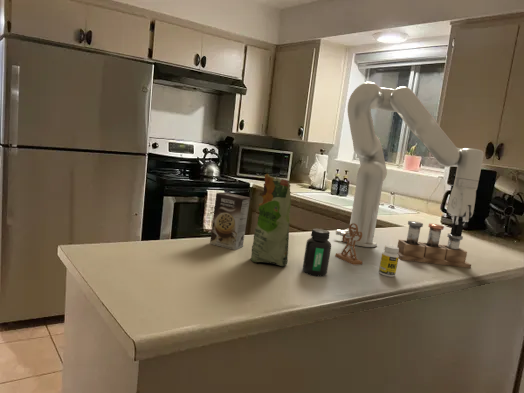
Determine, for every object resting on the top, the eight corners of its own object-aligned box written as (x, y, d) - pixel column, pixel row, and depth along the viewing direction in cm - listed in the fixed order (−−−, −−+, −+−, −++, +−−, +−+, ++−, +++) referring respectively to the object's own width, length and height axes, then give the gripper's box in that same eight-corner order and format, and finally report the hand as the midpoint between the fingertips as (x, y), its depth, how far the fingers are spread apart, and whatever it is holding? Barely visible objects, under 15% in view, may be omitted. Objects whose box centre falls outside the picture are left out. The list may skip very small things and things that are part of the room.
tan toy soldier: (334, 256, 143) (340, 220, 141) (343, 255, 145) (349, 220, 143) (352, 264, 136) (359, 226, 134) (362, 264, 138) (368, 227, 136)
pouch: (280, 271, 119) (294, 179, 115) (240, 261, 122) (252, 172, 119) (292, 262, 129) (304, 178, 126) (254, 253, 133) (265, 171, 129)
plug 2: (447, 258, 154) (451, 236, 153) (441, 254, 159) (445, 232, 158) (461, 259, 154) (465, 237, 153) (454, 255, 159) (458, 234, 158)
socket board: (400, 259, 150) (403, 244, 150) (390, 251, 160) (393, 237, 160) (470, 268, 152) (473, 253, 151) (456, 259, 162) (459, 246, 161)
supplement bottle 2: (386, 277, 127) (391, 249, 126) (375, 271, 131) (380, 244, 130) (398, 276, 129) (403, 249, 128) (387, 271, 133) (392, 244, 132)
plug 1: (407, 245, 152) (411, 223, 151) (402, 242, 157) (406, 220, 156) (421, 247, 153) (425, 224, 152) (415, 243, 158) (419, 222, 157)
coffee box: (208, 244, 136) (215, 193, 134) (218, 240, 142) (224, 191, 140) (235, 250, 133) (242, 198, 131) (244, 246, 139) (250, 196, 137)
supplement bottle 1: (320, 278, 117) (327, 234, 115) (297, 271, 121) (304, 229, 119) (330, 273, 123) (337, 232, 121) (308, 267, 126) (315, 226, 125)
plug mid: (428, 248, 153) (432, 225, 152) (422, 244, 158) (426, 222, 157) (442, 249, 153) (446, 227, 152) (435, 246, 158) (440, 224, 157)
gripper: (445, 180, 160) (436, 229, 162) (466, 185, 145) (455, 239, 148) (465, 183, 160) (455, 232, 163) (488, 188, 146) (477, 241, 148)
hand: (455, 235), depth 155 cm, fingers closed
